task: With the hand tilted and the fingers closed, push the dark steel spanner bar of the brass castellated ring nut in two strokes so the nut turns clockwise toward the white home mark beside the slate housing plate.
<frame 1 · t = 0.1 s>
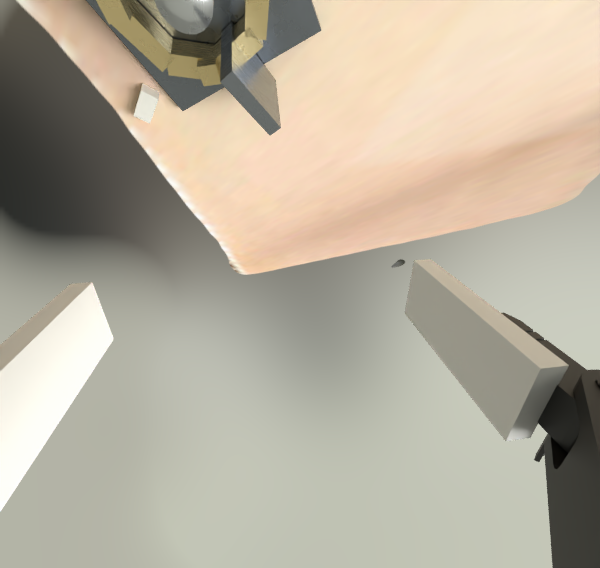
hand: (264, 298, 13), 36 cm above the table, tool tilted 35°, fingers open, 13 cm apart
home mark: (147, 100, 40), on the table
ring nut: (206, 25, 29), point 6 cm above the table, hinge at 0.0°
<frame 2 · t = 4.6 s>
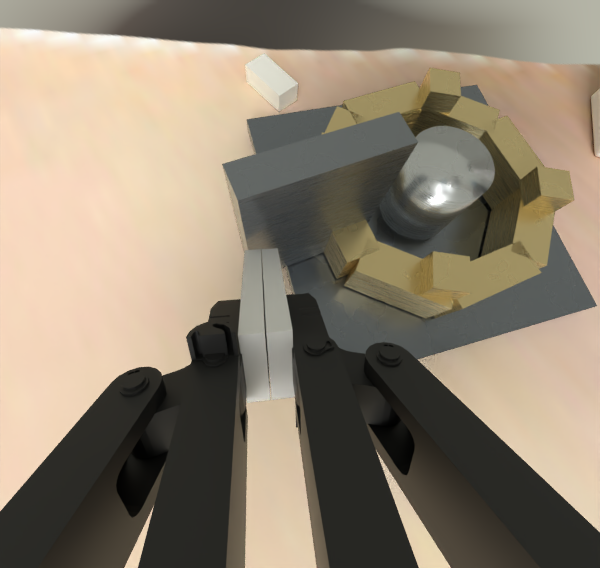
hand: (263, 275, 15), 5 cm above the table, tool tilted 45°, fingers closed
home mark: (271, 91, 25), on the table
housing plate: (407, 215, 23), on the table
ring nut: (413, 177, 17), point 6 cm above the table, hinge at 2.0°, touching gripper
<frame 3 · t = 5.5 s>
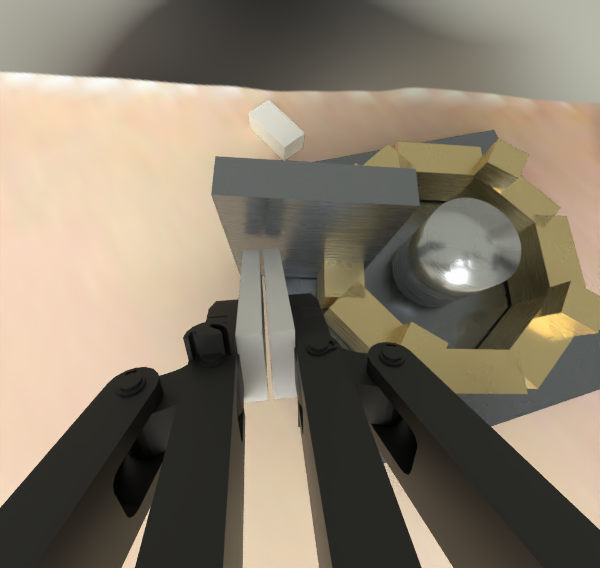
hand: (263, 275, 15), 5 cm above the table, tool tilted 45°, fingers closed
home mark: (276, 137, 24), on the table
housing plate: (421, 275, 21), on the table
ring nut: (426, 240, 16), point 6 cm above the table, hinge at 25.9°, touching gripper
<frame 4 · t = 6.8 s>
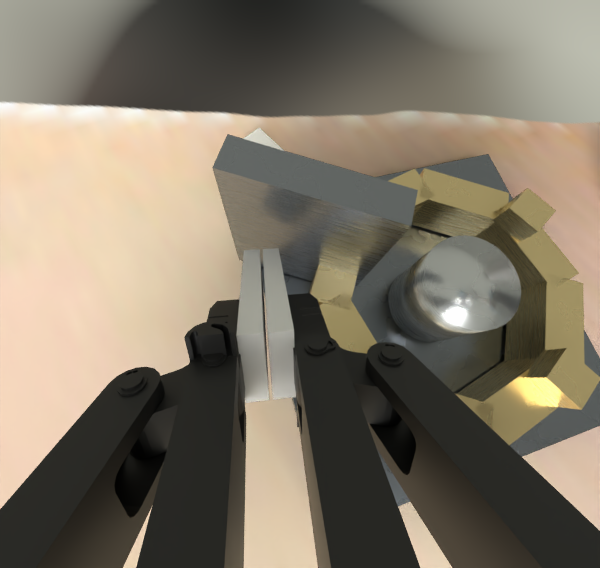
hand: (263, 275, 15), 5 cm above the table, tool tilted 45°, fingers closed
home mark: (267, 165, 23), on the table
housing plate: (418, 307, 21), on the table
ring nut: (423, 268, 15), point 6 cm above the table, hinge at 42.1°
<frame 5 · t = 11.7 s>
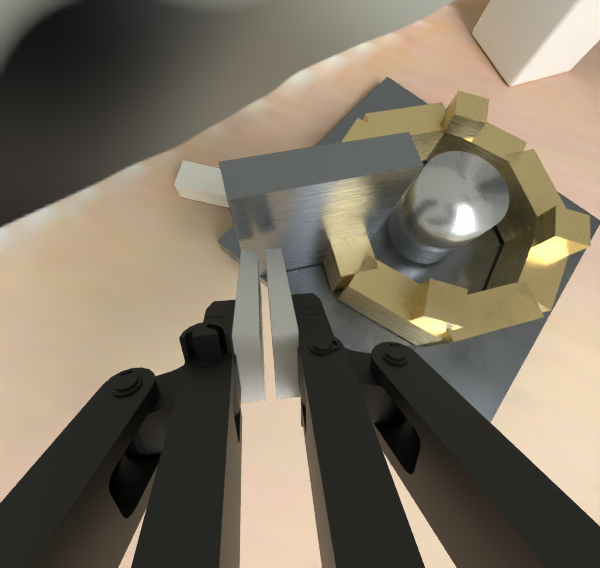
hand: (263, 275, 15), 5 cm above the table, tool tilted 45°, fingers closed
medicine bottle: (517, 55, 29), on the table
home mark: (211, 191, 22), on the table
housing plate: (416, 236, 22), on the table
ring nut: (421, 200, 16), point 6 cm above the table, hinge at 46.0°, touching gripper
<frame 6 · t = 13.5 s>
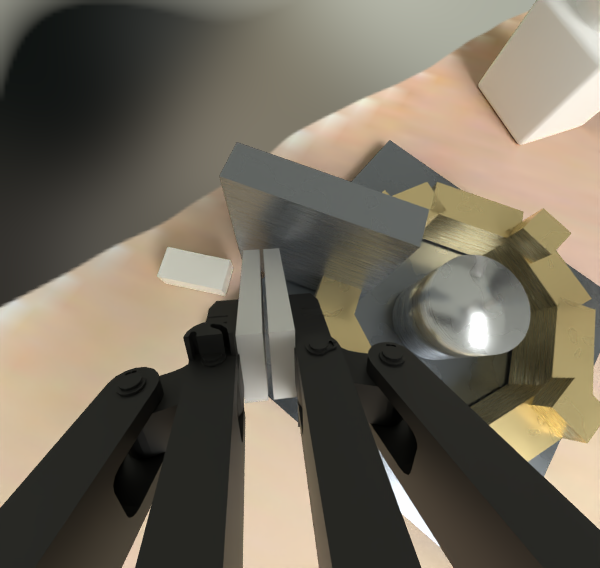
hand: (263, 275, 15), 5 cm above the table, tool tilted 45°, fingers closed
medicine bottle: (525, 108, 27), on the table
home mark: (200, 275, 20), on the table
housing plate: (423, 322, 20), on the table
ring nut: (430, 287, 15), point 6 cm above the table, hinge at 80.0°, touching gripper
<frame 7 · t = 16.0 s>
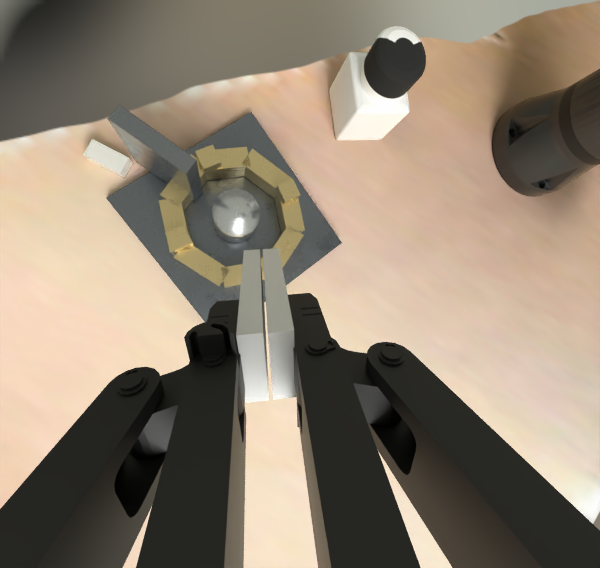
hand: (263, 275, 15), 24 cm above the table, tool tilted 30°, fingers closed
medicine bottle: (354, 116, 43), on the table
home mark: (111, 161, 35), on the table
housing plate: (234, 224, 38), on the table
ring nut: (216, 198, 32), point 6 cm above the table, hinge at 80.1°
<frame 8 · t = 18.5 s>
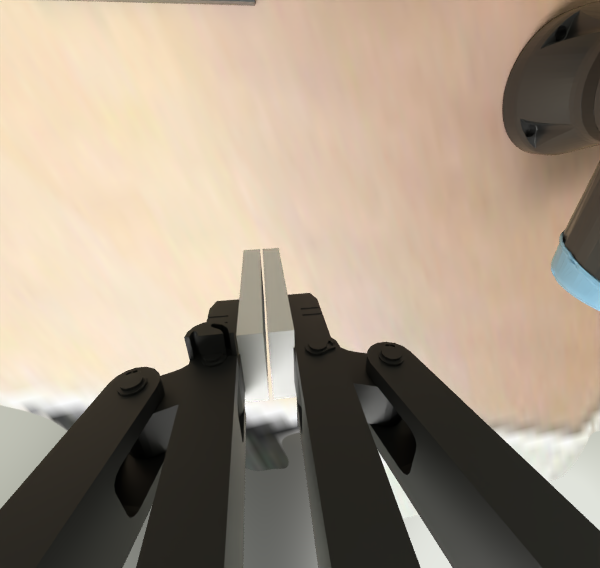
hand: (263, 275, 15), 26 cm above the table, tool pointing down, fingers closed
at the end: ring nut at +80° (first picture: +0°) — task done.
